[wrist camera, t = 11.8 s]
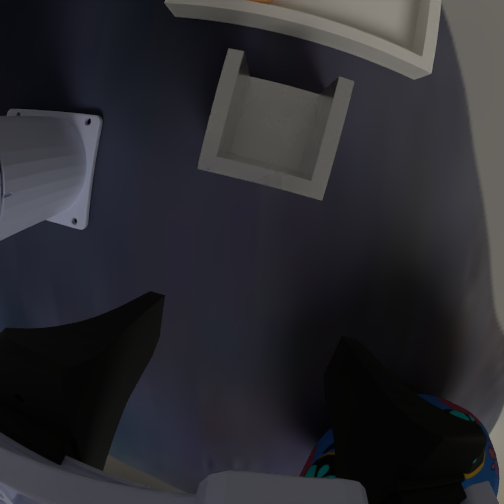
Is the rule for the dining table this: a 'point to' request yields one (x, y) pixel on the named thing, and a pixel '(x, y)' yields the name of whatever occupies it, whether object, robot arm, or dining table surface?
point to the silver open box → (273, 130)
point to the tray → (339, 26)
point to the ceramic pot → (486, 463)
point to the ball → (262, 1)
